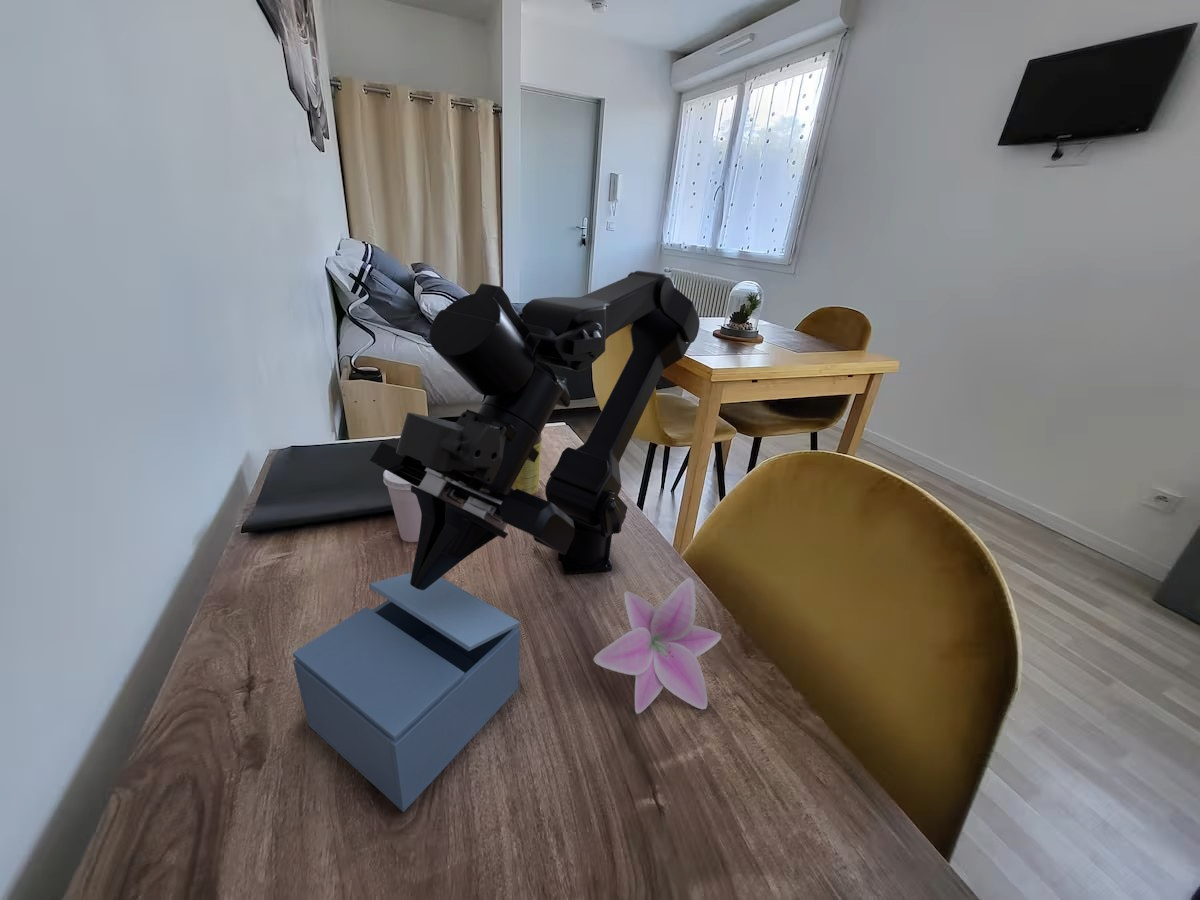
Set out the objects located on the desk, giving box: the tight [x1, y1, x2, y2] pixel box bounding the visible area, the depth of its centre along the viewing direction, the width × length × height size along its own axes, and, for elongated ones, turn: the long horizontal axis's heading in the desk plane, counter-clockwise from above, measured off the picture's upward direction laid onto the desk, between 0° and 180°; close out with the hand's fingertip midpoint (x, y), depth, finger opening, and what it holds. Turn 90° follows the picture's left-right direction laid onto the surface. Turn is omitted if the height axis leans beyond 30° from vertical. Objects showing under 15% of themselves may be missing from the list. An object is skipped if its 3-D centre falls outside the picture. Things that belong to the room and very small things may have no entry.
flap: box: [368, 571, 521, 651], centre depth 42 cm, size 6×12×1 cm, turn 58°
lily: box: [592, 577, 722, 715], centre depth 47 cm, size 12×12×10 cm
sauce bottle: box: [512, 433, 543, 497], centre depth 74 cm, size 6×6×20 cm
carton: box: [292, 599, 521, 813], centre depth 42 cm, size 13×12×8 cm
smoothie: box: [382, 469, 421, 543], centre depth 63 cm, size 6×6×14 cm
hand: (416, 587), depth 39 cm, fingers closed
